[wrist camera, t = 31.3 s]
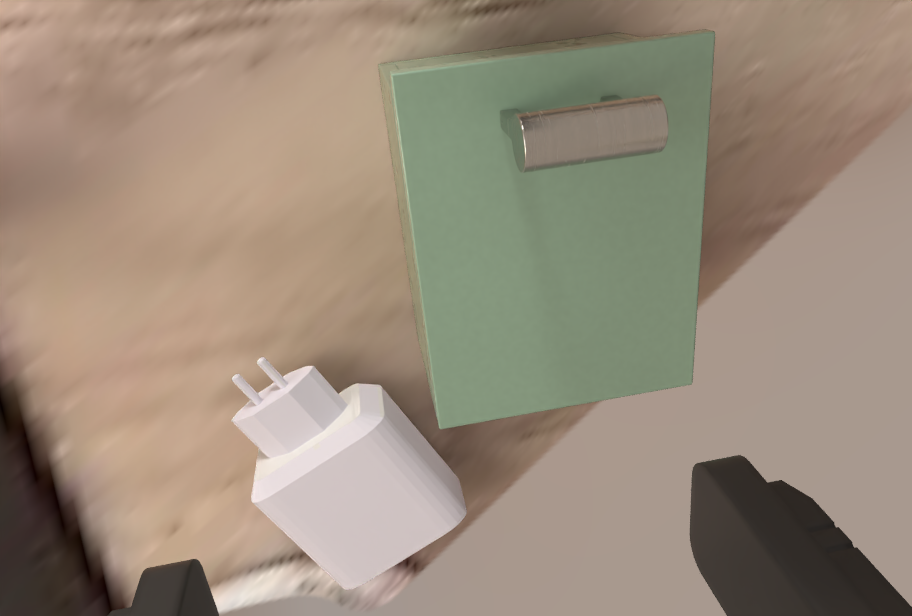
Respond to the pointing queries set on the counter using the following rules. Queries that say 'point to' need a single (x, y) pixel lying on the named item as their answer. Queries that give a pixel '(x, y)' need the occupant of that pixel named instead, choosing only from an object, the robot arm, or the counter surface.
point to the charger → (345, 473)
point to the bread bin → (396, 156)
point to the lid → (557, 221)
